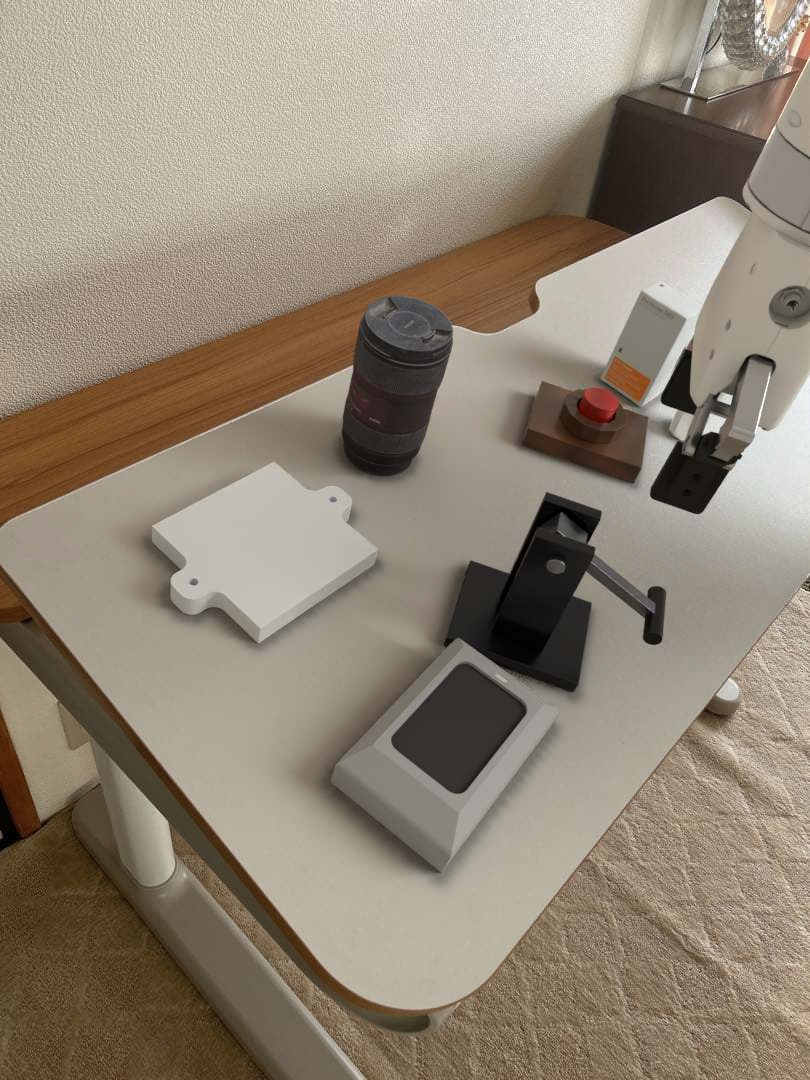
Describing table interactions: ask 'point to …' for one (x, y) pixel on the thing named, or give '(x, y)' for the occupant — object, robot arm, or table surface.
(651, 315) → the cosmetic box
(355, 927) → the table surface
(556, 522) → the lever
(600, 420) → the button
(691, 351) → the robot arm
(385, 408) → the camera lens
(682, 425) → the milkshake
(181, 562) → the mounting plate
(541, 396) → the button block
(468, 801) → the card reader
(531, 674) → the bracket
